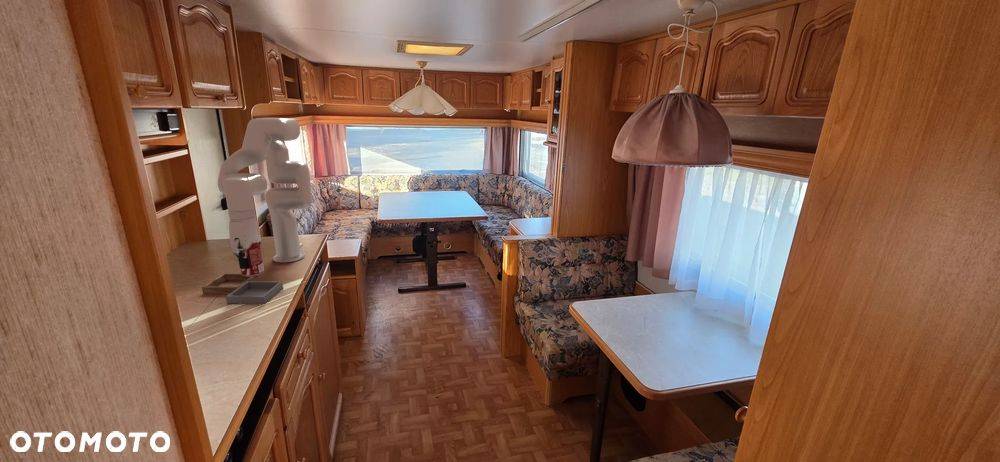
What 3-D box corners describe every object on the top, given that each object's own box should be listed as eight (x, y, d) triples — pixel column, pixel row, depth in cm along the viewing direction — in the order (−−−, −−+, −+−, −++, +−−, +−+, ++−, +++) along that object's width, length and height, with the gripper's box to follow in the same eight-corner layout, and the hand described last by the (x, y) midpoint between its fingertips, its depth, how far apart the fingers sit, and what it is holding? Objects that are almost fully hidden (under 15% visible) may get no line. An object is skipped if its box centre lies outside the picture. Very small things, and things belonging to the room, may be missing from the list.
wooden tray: (225, 279, 156) (224, 273, 156) (258, 279, 157) (257, 273, 156) (203, 293, 144) (201, 287, 144) (239, 294, 145) (237, 287, 144)
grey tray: (248, 288, 149) (247, 281, 148) (283, 288, 149) (282, 281, 148) (227, 304, 137) (226, 296, 136) (265, 304, 137) (263, 296, 136)
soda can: (268, 270, 144) (263, 238, 140) (255, 278, 137) (249, 245, 134) (251, 269, 144) (245, 237, 141) (237, 277, 138) (231, 244, 135)
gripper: (246, 208, 143) (254, 256, 148) (213, 221, 126) (224, 274, 131) (267, 208, 143) (274, 256, 148) (238, 221, 126) (247, 274, 131)
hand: (250, 264), depth 139 cm, fingers closed on soda can, 6 cm apart
